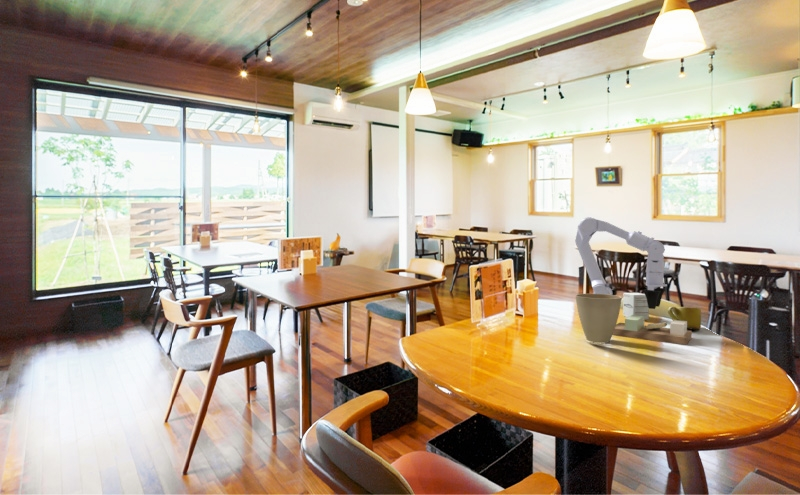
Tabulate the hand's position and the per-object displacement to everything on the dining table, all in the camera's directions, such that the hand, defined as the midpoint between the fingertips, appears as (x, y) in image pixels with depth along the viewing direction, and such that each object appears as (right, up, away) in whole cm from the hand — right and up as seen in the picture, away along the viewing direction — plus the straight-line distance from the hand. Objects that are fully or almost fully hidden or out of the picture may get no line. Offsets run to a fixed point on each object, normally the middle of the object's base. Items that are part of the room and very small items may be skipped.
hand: (654, 307), depth 166 cm
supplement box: (+4, -10, +20) cm, 22 cm away
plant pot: (-28, -10, -13) cm, 32 cm away
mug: (+14, -10, +3) cm, 17 cm away
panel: (-5, -10, -6) cm, 12 cm away
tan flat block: (-3, -6, -7) cm, 10 cm away
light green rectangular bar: (-9, -7, -4) cm, 12 cm away
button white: (+1, -8, -13) cm, 15 cm away
